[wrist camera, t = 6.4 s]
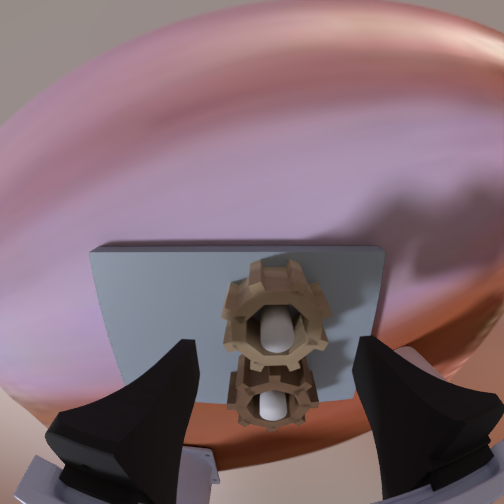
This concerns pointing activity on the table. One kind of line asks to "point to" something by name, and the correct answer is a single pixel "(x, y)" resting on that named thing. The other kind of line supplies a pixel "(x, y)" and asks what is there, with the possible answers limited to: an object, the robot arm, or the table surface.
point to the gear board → (211, 305)
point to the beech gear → (275, 293)
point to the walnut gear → (270, 378)
